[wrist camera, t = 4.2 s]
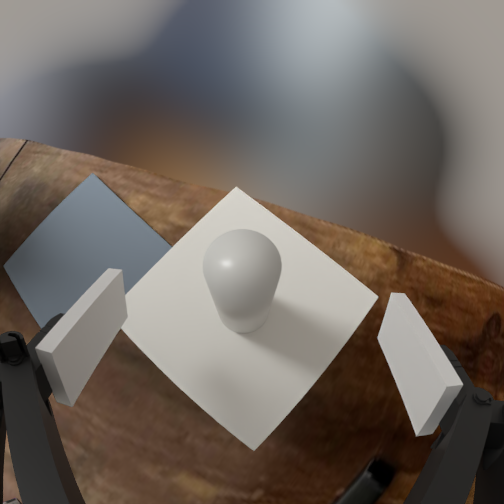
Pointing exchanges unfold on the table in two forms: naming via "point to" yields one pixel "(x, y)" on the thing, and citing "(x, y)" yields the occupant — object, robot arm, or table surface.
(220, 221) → the lid
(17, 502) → the candy bar box
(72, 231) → the mat
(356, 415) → the table surface
